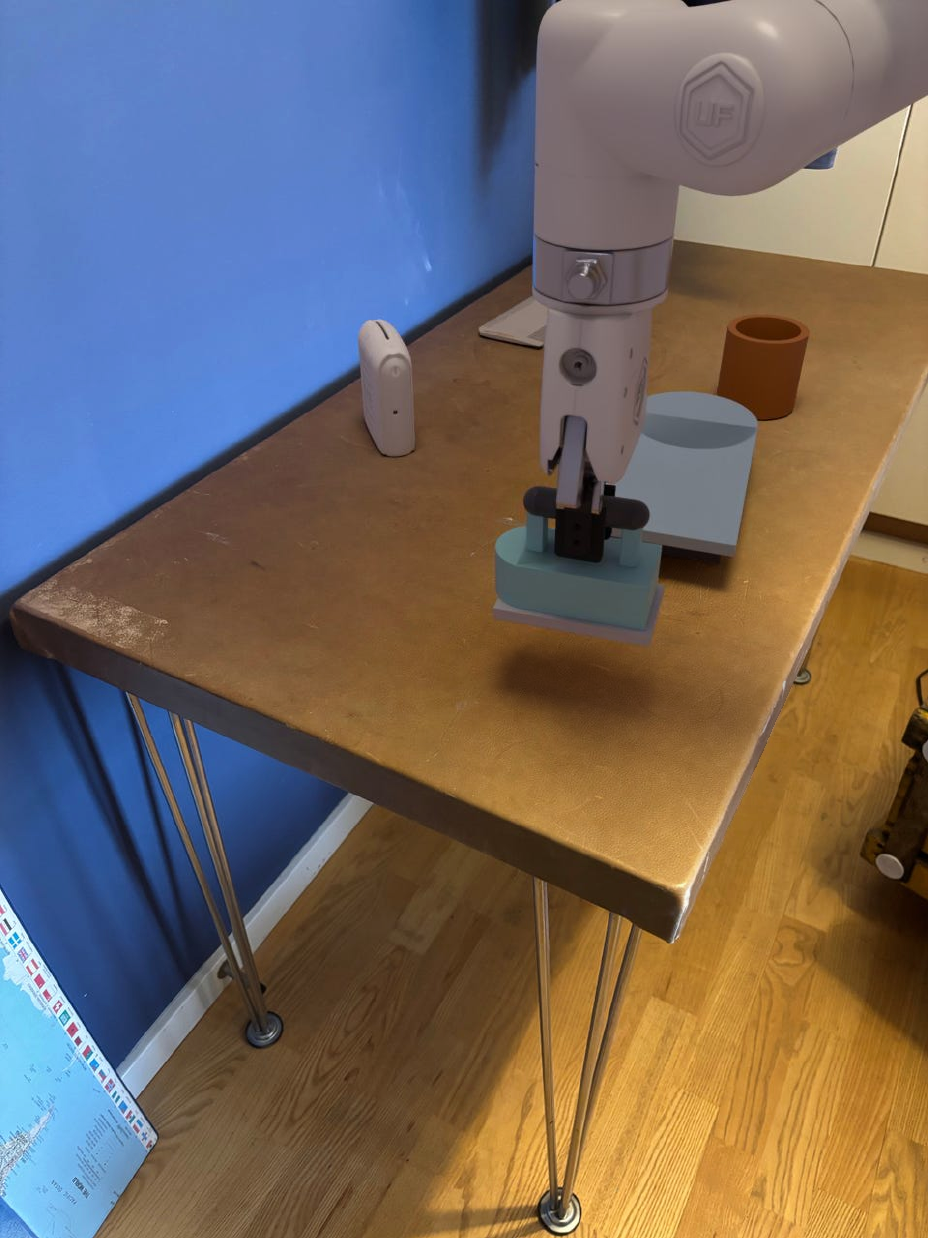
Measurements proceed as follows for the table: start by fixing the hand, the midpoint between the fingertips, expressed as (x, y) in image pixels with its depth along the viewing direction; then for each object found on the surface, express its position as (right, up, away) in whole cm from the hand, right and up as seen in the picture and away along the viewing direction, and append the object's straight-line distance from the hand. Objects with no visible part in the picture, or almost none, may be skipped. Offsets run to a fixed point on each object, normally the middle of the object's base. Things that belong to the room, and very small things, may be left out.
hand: (583, 544), depth 61 cm
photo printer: (-16, +15, +40) cm, 46 cm away
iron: (0, -4, +3) cm, 5 cm away
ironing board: (+13, +7, +29) cm, 32 cm away
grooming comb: (+2, +37, +66) cm, 75 cm away
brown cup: (+27, +21, +46) cm, 57 cm away
